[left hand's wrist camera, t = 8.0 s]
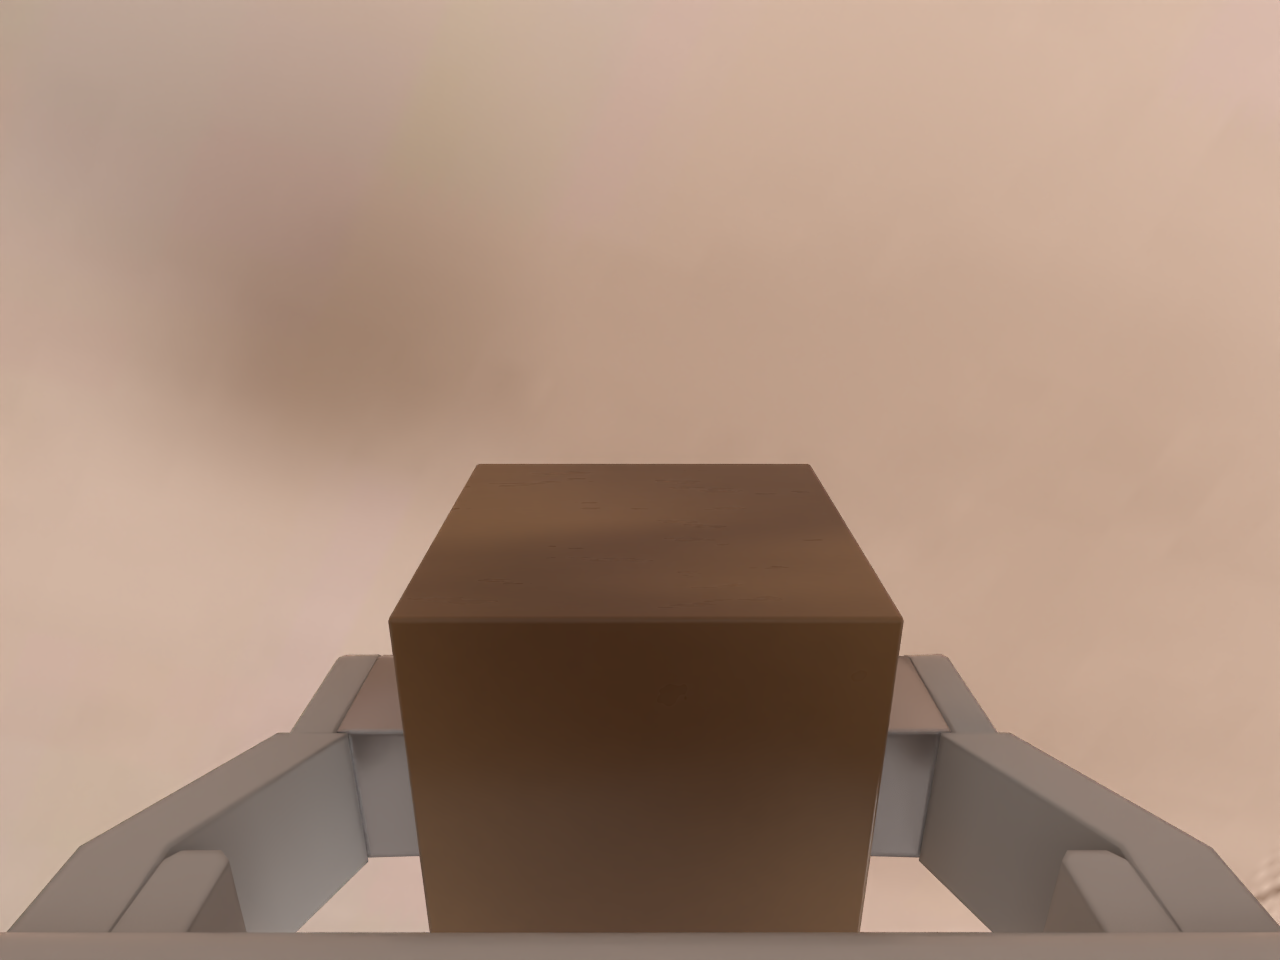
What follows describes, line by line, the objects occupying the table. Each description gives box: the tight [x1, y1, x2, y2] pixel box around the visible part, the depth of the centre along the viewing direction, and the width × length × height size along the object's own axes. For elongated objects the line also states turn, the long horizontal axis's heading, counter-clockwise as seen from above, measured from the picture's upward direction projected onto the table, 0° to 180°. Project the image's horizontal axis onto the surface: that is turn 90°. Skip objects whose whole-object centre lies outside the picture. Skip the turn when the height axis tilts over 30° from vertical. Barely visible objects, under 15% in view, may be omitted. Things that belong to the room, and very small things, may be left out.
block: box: [388, 464, 903, 933], centre depth 10 cm, size 5×5×4 cm
